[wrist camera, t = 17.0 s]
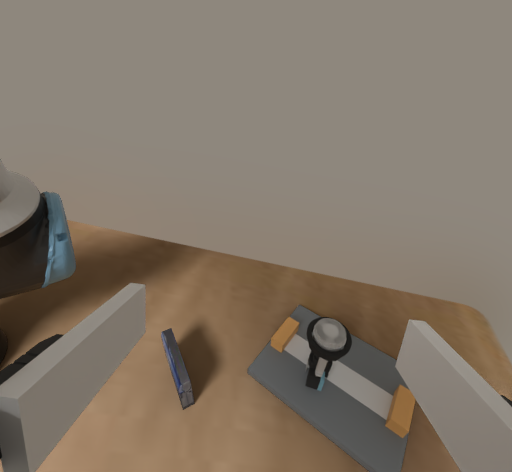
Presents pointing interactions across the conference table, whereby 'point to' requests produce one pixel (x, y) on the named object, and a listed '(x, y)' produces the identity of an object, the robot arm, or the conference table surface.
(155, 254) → the conference table surface
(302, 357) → the mounting panel
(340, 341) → the push button
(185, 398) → the mini dv tape
